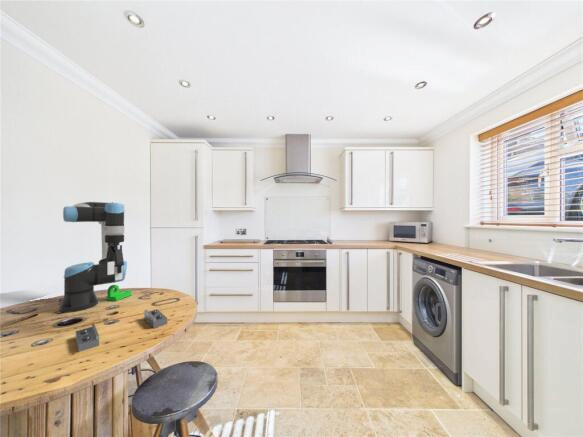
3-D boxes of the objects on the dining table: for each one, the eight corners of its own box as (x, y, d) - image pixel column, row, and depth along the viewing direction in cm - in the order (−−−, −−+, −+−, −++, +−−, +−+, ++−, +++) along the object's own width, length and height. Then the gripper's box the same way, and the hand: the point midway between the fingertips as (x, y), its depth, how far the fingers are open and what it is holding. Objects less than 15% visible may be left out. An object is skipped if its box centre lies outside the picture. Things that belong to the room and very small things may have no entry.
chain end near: (75, 338, 88) (75, 328, 88) (94, 333, 92) (93, 323, 92) (78, 353, 79) (78, 341, 79) (99, 346, 83) (99, 335, 83)
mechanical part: (116, 300, 129) (115, 287, 129) (107, 300, 130) (107, 286, 130) (134, 293, 141) (134, 281, 141) (126, 293, 142) (126, 280, 142)
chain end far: (144, 318, 105) (144, 310, 105) (157, 315, 110) (157, 306, 110) (153, 328, 96) (153, 319, 96) (167, 324, 100) (167, 315, 100)
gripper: (98, 233, 114) (98, 273, 115) (112, 236, 99) (112, 284, 99) (116, 232, 120) (116, 271, 121) (132, 235, 105) (131, 280, 105)
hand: (114, 277), depth 110 cm, fingers open, 13 cm apart
